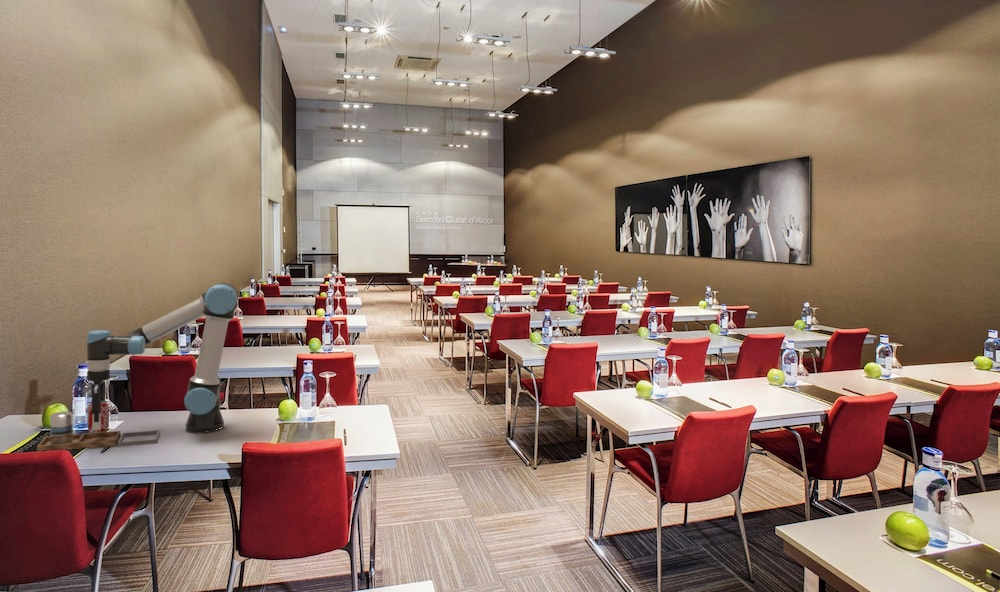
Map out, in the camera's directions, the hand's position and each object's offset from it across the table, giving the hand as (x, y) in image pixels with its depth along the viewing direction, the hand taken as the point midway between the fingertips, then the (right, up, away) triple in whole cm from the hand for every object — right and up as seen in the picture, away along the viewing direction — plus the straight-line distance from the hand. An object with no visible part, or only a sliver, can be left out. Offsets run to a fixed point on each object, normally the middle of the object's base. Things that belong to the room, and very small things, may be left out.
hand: (98, 426), depth 244 cm
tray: (+13, -7, +6) cm, 16 cm away
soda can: (0, -2, 0) cm, 2 cm away
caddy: (-6, -6, -2) cm, 9 cm away
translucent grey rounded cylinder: (-11, -6, -5) cm, 14 cm away
